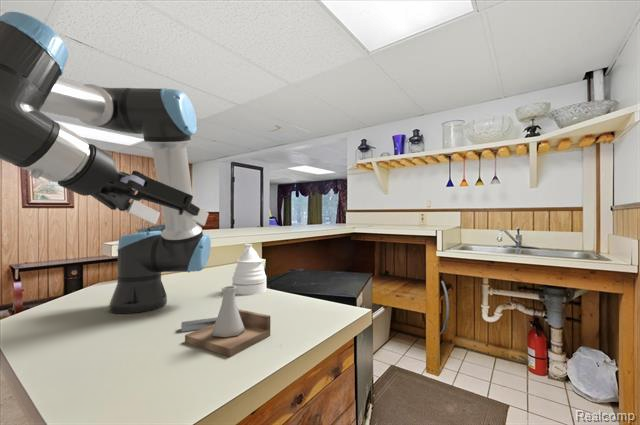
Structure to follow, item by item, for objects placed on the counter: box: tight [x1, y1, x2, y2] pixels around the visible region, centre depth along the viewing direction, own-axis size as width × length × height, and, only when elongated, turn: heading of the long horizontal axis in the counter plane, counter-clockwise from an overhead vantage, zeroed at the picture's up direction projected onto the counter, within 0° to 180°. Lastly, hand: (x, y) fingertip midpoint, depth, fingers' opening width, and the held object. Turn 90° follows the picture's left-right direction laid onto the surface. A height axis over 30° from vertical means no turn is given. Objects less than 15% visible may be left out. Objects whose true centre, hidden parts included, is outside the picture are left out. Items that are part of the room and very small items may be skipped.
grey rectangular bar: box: [180, 316, 218, 333], centre depth 71 cm, size 2×10×2 cm, turn 114°
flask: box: [212, 285, 245, 337], centre depth 64 cm, size 7×7×10 cm
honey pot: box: [231, 243, 267, 296], centre depth 110 cm, size 13×13×18 cm
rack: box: [184, 308, 271, 358], centre depth 64 cm, size 14×12×4 cm
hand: (180, 219), depth 60 cm, fingers open, 13 cm apart
